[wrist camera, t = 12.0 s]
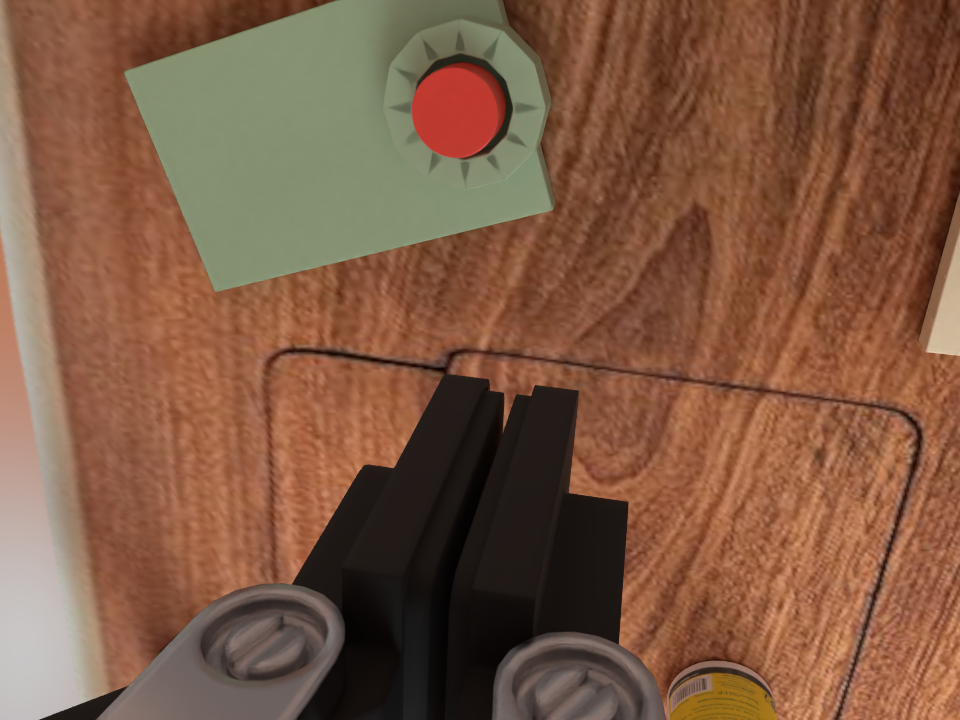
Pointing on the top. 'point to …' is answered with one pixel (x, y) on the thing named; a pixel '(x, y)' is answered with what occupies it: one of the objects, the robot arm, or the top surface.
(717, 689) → the supplement bottle
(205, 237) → the button box
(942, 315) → the switch bracket
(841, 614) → the top surface
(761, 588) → the top surface
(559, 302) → the top surface
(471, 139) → the button
